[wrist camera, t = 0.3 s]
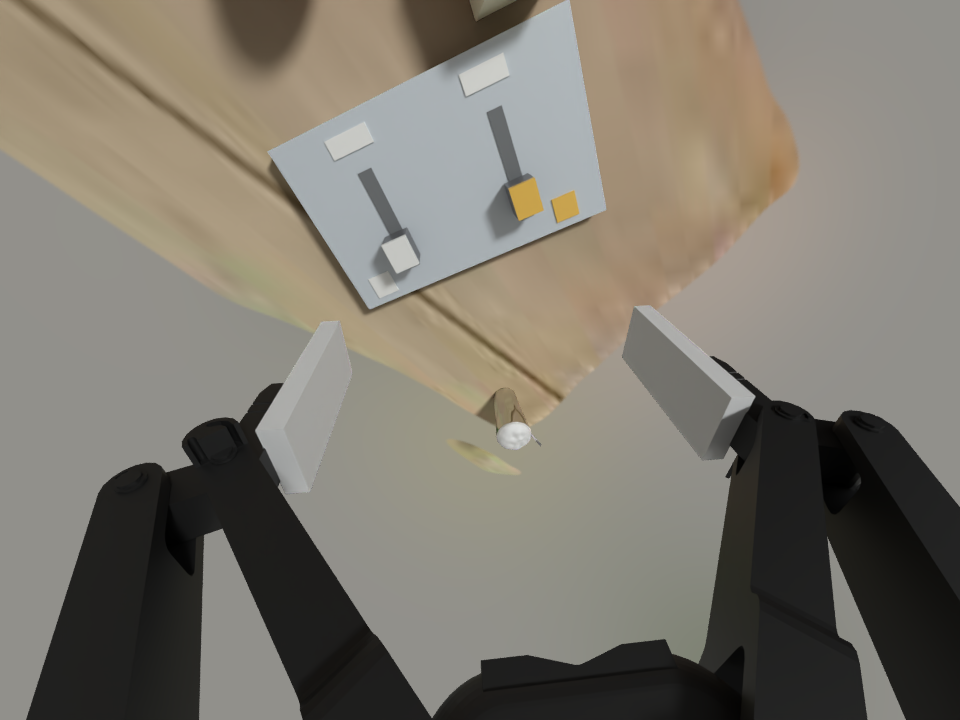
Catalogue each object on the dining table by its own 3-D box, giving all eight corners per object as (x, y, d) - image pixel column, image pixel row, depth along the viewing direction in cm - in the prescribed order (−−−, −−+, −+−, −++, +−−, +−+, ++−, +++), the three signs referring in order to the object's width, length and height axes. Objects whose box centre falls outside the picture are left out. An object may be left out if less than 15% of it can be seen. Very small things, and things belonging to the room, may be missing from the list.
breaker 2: (503, 183, 35) (508, 189, 33) (527, 173, 35) (534, 177, 32) (513, 213, 37) (518, 221, 34) (536, 203, 37) (543, 210, 34)
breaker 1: (385, 237, 37) (381, 246, 35) (406, 227, 37) (404, 235, 34) (399, 263, 39) (396, 273, 36) (420, 254, 38) (419, 264, 36)
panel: (275, 149, 34) (266, 151, 32) (561, 5, 30) (569, -2, 28) (372, 302, 43) (369, 310, 41) (599, 205, 40) (606, 210, 38)
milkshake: (524, 406, 55) (539, 457, 47) (489, 408, 55) (498, 460, 46) (526, 382, 52) (542, 432, 44) (489, 384, 52) (499, 435, 44)
